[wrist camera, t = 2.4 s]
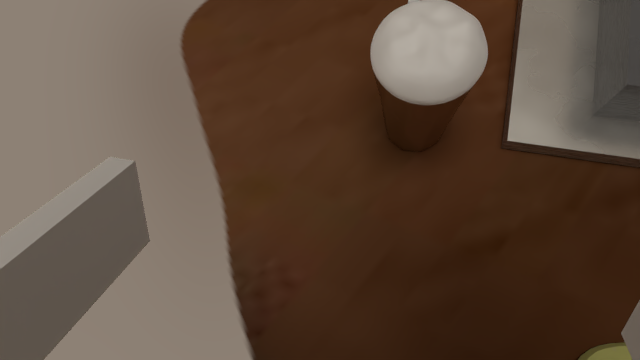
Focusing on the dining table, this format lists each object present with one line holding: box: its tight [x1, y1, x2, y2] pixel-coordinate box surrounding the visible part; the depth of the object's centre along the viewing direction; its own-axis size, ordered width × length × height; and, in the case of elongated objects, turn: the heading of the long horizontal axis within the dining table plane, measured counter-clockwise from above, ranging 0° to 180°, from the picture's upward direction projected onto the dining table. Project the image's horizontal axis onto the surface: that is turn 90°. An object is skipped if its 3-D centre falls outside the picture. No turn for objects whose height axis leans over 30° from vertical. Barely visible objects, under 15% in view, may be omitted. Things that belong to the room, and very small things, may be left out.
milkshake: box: [371, 0, 488, 152], centre depth 21 cm, size 4×5×10 cm
